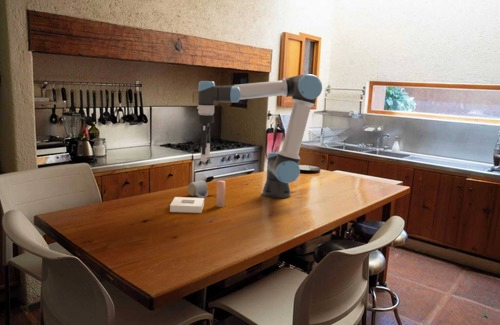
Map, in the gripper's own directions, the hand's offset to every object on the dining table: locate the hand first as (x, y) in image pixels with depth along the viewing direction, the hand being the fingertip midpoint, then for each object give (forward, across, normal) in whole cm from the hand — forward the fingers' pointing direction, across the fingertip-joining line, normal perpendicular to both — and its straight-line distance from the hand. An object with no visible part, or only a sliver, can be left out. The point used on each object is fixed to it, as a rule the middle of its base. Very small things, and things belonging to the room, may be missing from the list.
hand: (205, 158), depth 197 cm
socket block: (+22, +10, -7) cm, 25 cm away
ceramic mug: (+22, -12, -4) cm, 25 cm away
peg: (+22, +5, +8) cm, 24 cm away
